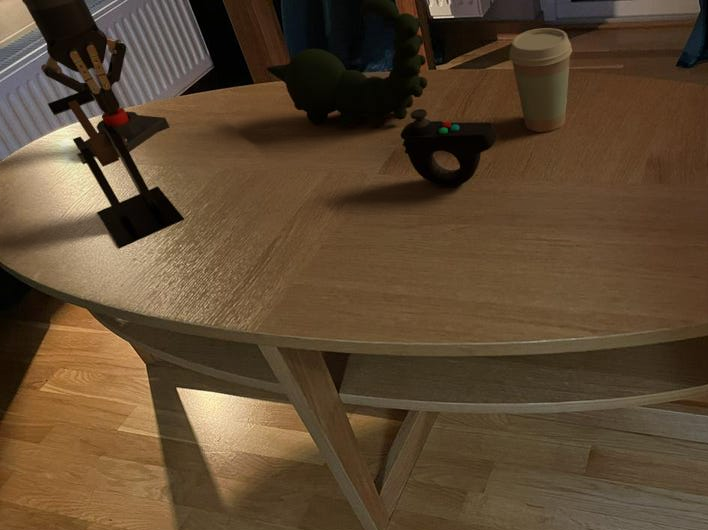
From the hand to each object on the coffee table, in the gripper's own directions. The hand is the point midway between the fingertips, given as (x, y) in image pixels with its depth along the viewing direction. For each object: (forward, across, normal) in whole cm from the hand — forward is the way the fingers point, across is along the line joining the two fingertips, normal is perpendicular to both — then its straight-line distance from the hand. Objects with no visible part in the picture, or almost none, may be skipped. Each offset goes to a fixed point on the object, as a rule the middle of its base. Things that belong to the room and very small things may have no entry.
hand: (113, 112), depth 113 cm
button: (+2, 0, 0) cm, 2 cm away
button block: (+5, 0, 0) cm, 5 cm away
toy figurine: (+6, +31, -25) cm, 40 cm away
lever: (-6, -6, -22) cm, 24 cm away
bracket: (+5, -6, -27) cm, 28 cm away
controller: (+6, +30, -53) cm, 61 cm away
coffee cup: (+6, +49, -49) cm, 70 cm away
